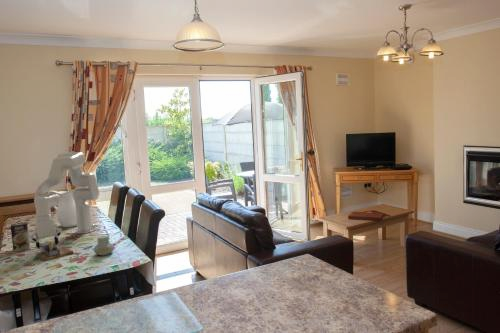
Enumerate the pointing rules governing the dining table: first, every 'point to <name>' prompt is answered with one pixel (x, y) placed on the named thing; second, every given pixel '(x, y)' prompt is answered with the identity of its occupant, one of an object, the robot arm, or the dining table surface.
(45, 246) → the open ended gray sleeve
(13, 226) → the coffee box
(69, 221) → the pitcher
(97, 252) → the air freshener
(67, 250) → the board
